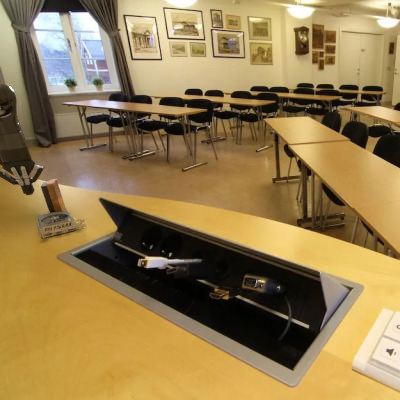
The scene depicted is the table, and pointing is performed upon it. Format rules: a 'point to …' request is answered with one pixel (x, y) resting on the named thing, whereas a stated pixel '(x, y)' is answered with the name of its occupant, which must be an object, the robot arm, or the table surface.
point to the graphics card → (58, 223)
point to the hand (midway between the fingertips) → (29, 194)
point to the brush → (53, 196)
